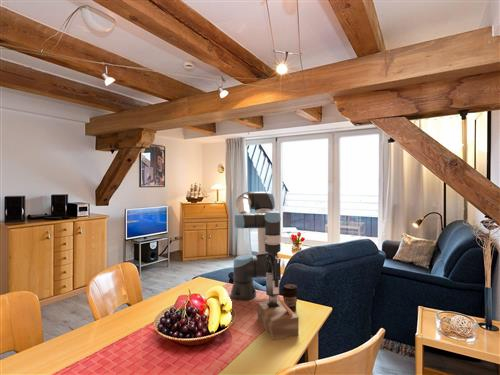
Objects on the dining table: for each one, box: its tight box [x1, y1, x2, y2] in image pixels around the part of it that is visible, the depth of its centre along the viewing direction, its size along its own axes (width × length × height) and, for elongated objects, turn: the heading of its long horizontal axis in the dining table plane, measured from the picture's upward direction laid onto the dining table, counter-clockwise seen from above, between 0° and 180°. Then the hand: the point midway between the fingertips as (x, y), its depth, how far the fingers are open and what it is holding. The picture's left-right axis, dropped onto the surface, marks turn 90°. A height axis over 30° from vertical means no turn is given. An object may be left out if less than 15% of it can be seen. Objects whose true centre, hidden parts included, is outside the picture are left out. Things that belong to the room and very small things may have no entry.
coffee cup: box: [281, 283, 299, 313], centre depth 146 cm, size 9×8×13 cm
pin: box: [265, 271, 281, 306], centre depth 135 cm, size 6×6×15 cm
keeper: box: [276, 295, 293, 316], centre depth 125 cm, size 5×9×1 cm
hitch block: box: [257, 299, 300, 341], centre depth 130 cm, size 20×12×8 cm, turn 17°
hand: (272, 290), depth 135 cm, fingers closed on pin, 6 cm apart
